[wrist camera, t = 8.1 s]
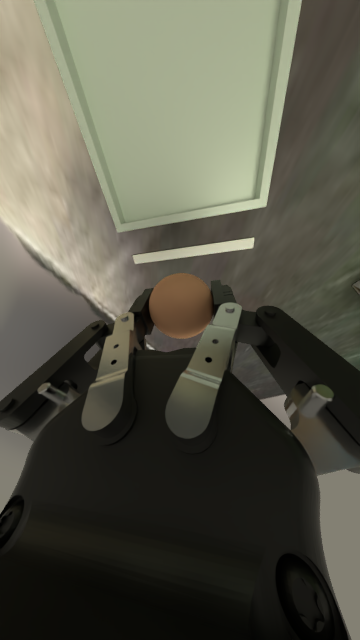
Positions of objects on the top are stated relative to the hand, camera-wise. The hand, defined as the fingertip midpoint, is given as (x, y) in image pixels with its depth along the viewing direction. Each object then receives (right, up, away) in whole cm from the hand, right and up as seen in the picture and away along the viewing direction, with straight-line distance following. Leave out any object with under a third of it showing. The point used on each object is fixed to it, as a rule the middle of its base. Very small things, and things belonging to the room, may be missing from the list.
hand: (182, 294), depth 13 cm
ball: (0, -1, -1) cm, 2 cm away
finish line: (+2, +11, +14) cm, 18 cm away
